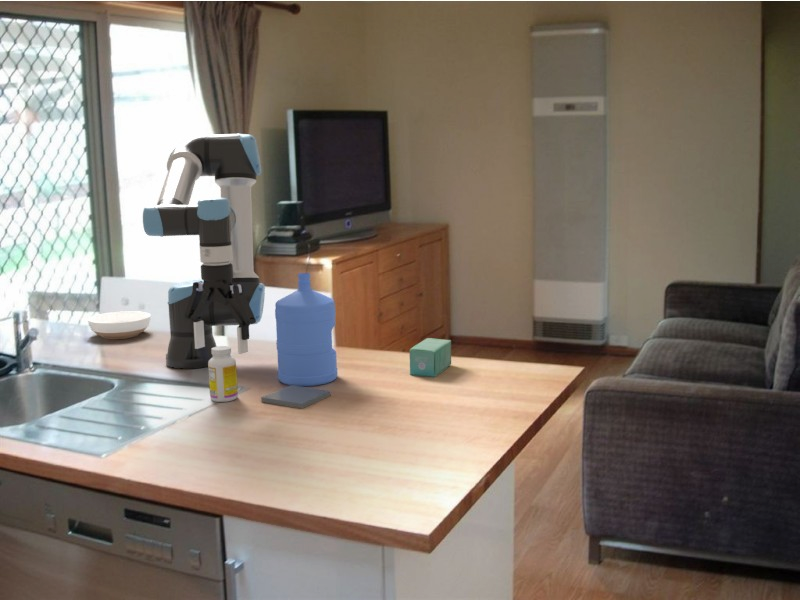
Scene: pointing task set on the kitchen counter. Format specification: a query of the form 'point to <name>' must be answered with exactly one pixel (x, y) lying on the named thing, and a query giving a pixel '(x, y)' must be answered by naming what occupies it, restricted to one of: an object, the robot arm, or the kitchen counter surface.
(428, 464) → the kitchen counter surface
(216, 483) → the kitchen counter surface
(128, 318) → the bowl
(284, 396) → the coaster
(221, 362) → the supplement bottle
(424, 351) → the box
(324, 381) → the water jug
